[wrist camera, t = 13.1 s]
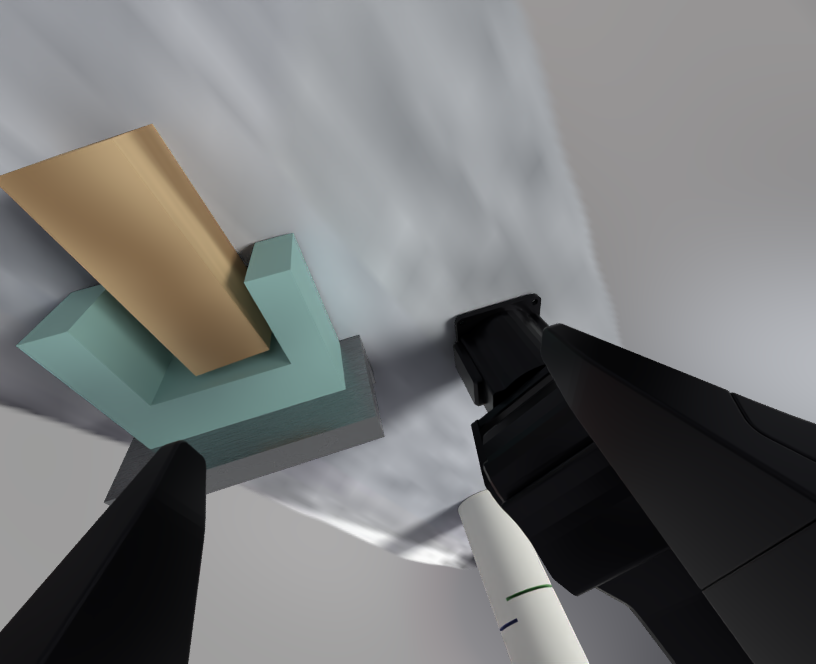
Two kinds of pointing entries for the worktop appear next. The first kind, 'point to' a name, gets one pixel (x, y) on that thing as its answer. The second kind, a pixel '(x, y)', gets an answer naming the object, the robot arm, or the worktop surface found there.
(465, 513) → the cylindrical container
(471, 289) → the worktop surface
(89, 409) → the worktop surface
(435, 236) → the worktop surface
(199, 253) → the oak peg
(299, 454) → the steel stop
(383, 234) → the worktop surface
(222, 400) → the slot block
